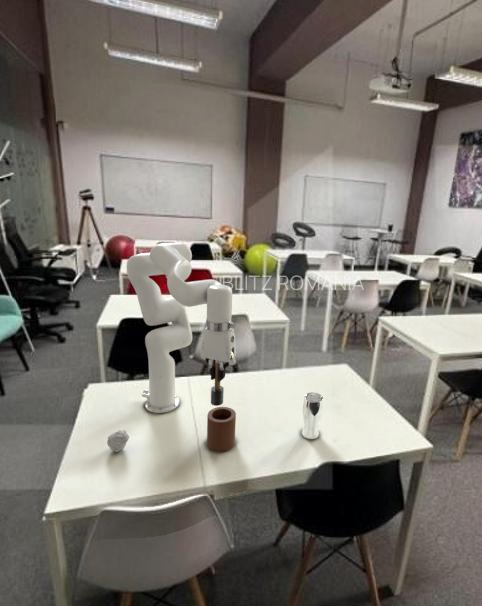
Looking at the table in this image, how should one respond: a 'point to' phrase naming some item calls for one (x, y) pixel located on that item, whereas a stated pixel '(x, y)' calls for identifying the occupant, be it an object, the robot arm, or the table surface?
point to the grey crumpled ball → (118, 440)
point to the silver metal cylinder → (312, 414)
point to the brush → (217, 389)
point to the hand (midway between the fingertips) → (217, 378)
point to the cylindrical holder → (221, 429)
